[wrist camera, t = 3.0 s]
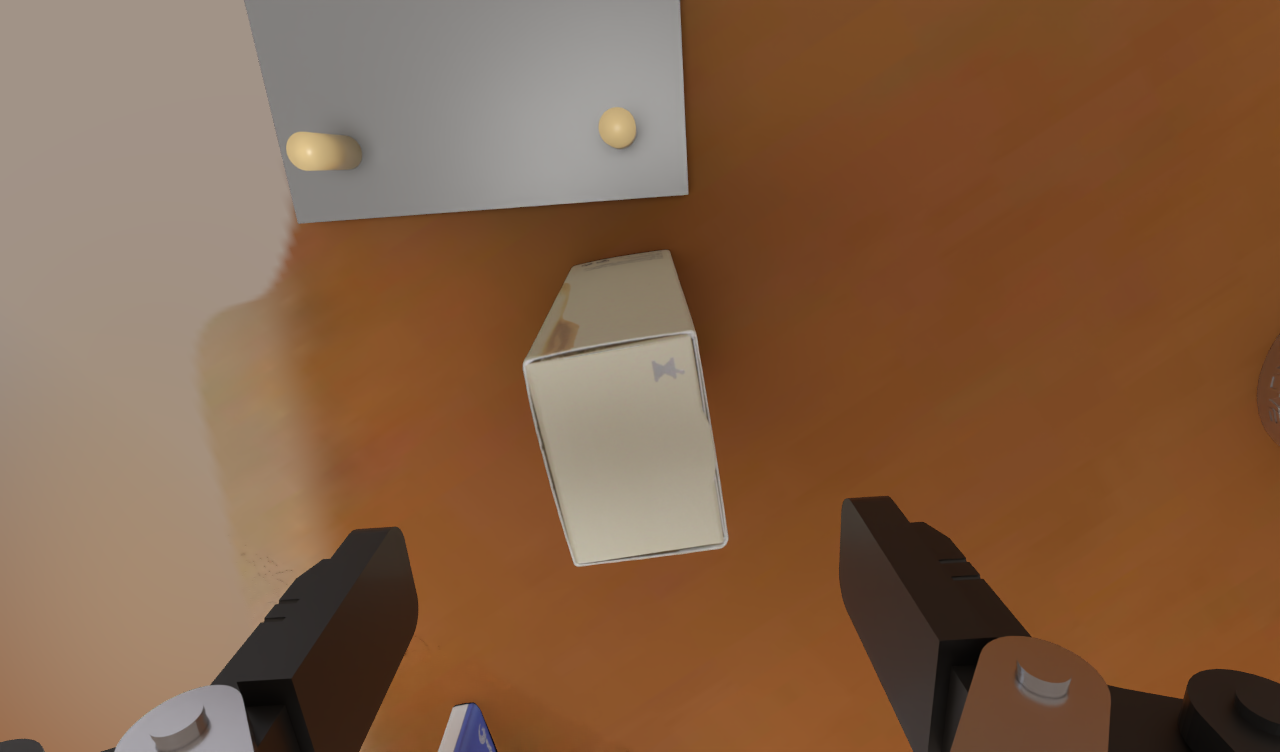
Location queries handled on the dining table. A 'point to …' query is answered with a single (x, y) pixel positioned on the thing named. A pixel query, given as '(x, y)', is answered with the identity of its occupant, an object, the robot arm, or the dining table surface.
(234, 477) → the dining table surface
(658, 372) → the skincare box
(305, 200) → the standoff plate
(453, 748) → the hard drive
